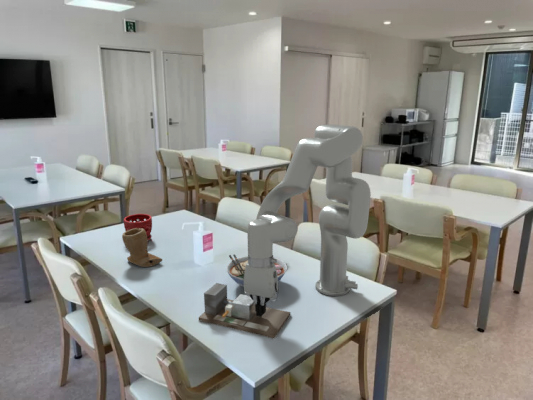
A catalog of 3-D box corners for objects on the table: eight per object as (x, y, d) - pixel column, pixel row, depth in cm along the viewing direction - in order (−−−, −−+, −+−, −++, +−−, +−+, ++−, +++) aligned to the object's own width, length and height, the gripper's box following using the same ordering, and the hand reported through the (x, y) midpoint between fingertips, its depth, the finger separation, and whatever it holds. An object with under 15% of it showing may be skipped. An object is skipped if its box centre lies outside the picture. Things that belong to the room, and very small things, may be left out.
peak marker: (233, 313, 132) (233, 305, 131) (226, 321, 128) (225, 313, 127) (228, 312, 133) (227, 304, 132) (220, 320, 128) (220, 311, 128)
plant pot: (120, 242, 200) (117, 218, 197) (141, 234, 211) (139, 212, 208) (137, 247, 193) (135, 223, 190) (159, 239, 204) (157, 216, 200)
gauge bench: (290, 315, 134) (290, 292, 131) (274, 338, 121) (274, 313, 119) (220, 300, 143) (219, 279, 141) (198, 320, 131) (197, 297, 129)
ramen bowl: (297, 295, 147) (297, 274, 144) (234, 305, 140) (233, 283, 138) (275, 268, 170) (275, 249, 168) (221, 275, 163) (220, 255, 161)
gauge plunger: (257, 311, 133) (257, 297, 132) (249, 320, 128) (249, 306, 127) (228, 305, 137) (228, 291, 136) (219, 313, 132) (219, 299, 131)
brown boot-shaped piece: (119, 262, 176) (116, 229, 172) (144, 254, 184) (142, 222, 181) (138, 272, 166) (134, 237, 162) (163, 264, 174) (161, 230, 170)
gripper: (287, 259, 125) (287, 313, 130) (243, 252, 131) (244, 304, 136) (278, 268, 119) (278, 325, 123) (232, 260, 124) (234, 315, 129)
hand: (260, 314), depth 129 cm, fingers closed
